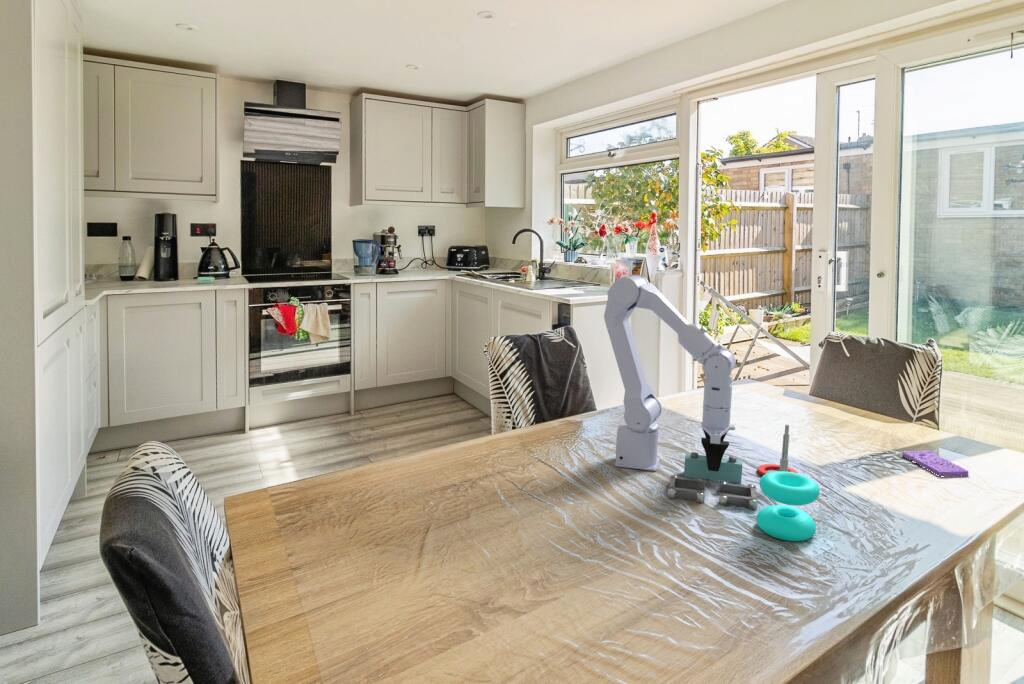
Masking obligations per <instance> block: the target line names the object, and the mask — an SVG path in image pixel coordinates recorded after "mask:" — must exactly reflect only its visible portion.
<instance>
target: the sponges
mask: <svg viewBox="0 0 1024 684" xmlns="http://www.w3.org/2000/svg"><path fill="white" fill-rule="evenodd" d="M901 452H902V453H901V454H902V455H901V456H904V457H906V458H908V459H910V460H912V461H914V462H916V463H917V464H919V465H921V466H923V467H925V468H926V469H928V470H930V471H932V472H933V473H935V474H937V475H939V476H938V477H940V476H954V477H969V470H967V469H966V468H964V467H961V466H960V465H957V464H956V463H955V464H954V463H953V462H952V461H950V460H948V459H946V458H944V457H943V456H941V455H939V454H936V452H933V451H931V450H930V449H928V450H913V451H912V450H911V451H910V450H907V451H906V450H905V451H903V450H902V451H901ZM904 457H903V458H904ZM906 458H905V459H906ZM908 459H907V460H908ZM910 460H909V461H910ZM912 461H911V462H912ZM917 464H916V465H917ZM919 465H918V466H919ZM926 469H925V470H926ZM928 470H927V471H928ZM933 473H932V474H933ZM935 474H934V475H935ZM961 475H962V476H961Z"/></svg>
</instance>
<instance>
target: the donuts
mask: <svg viewBox="0 0 1024 684" xmlns="http://www.w3.org/2000/svg"><path fill="white" fill-rule="evenodd" d="M768 472H769V473H767V474H765V475H763V476H762V475H761V478H760V480H759V482H758V483H759V487H760V488H759V489H760V490H761V492H762V493H763V494H764V496H765V497H768V498H769V499H770V500H772V501H775V502H777V503H780V504H771V505H768V506H765V507H763V508H761V509H760V510H759V511H758V512H757V515H756V523H757V526H758V527H759V528H760V529H761V530H762V532H764V533H765V534H767V535H769V536H771V537H773V538H776V539H779V540H783V541H789V542H802V541H806V540H809V539H811V538H812V537H813V536H814V535H815V533H816V532H817V531H816V530H817V526H816V522H815V520H814V519H813V517H811V516H810V514H808V513H806V512H805V511H803V510H801V509H799V508H797V507H794V506H806V505H809V504H811V503H815V501H816V500H818V498H819V497H820V487H819V484H817V482H815V480H813V479H812V478H810V477H808V476H806V475H803V474H801V473H798V474H797V473H793V472H786V471H777V470H776V471H768ZM783 504H784V505H783Z"/></svg>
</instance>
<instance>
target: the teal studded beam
mask: <svg viewBox="0 0 1024 684" xmlns="http://www.w3.org/2000/svg"><path fill="white" fill-rule="evenodd" d="M683 468H684V469H683V478H691V479H698V478H703V479H705V480H709V481H710V480H711V481H717V482H718V481H726V482H727V483H732V484H742V476H743V459H739V458H738V459H737V457H736V456H732V455H731V456H728V457H722V461H721V465H720V468H719V471H718V472H717V471H709V470H708V466H707V459H706V455H704V454H703V455H701V454H699V452H694V451H693V452H690V453H685V455H684V467H683Z"/></svg>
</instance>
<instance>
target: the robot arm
mask: <svg viewBox="0 0 1024 684" xmlns="http://www.w3.org/2000/svg"><path fill="white" fill-rule="evenodd" d="M606 293H607V301H606V303H605V304H606V306H605V309H604V315H603V320H604V323H605V326H606V327H605V328H606V330H607V334H608V337H609V341H610V343H611V347H612V350H613V355H614V356H615V357H614V358H615V360H616V364H617V368H618V371H619V374H620V378H621V381H622V385H623V388H624V395H623V402H622V403H623V405H624V411H623V419H624V422H625V424H619V425H618V426H617V431H616V438H615V439H616V440H615V443H616V445H615V463H614V466H615V467H619V468H627V469H628V468H629V469H637V470H645V471H653V472H656V471H658V467H659V463H660V458H661V457H660V456H658V446H659V445H658V443H659V441H658V440H659V424H658V422H657V419H658V418H659V417H660V416H661V414H662V410H663V409H662V404H661V401H660V399H658V398H657V397H656V396H655V393H654V390H653V388H652V387H651V386H650V385H649V384H648V383H647V382H648V381H647V379H646V376H645V373H644V369H643V365H642V361H641V358H640V355H639V351H638V348H637V345H636V340H635V337H634V335H633V331H632V327H631V323H630V320H629V318H630V316H631V315H632V314H633V312H634V310H635V309H636V308H638V309H645V310H651V311H652V312H653V313H654V314H655V315H656V316H658V318H659V319H660V320H662V321H663V322H664V323H665V324H666V325H667V326H669V327H670V328H671V329H672V330H673V331H674V332H675V333H676V334H677V338H678V339H677V340H678V341H677V342H678V344H679V345H680V346H681V347H682V348H683V349H684V350H685V351H687V352H688V354H690V356H691V357H692V358H694V360H696V361H697V363H698V364H700V365H701V368H702V371H703V373H704V375H705V377H704V378H705V379H704V385H703V403H702V404H703V405H702V418H701V419H702V421H701V422H700V423H701V425H700V427H701V429H702V431H703V433H704V437H701V439H700V442H701V446H702V447H703V449H704V453H705V456H706V459H707V466H708V470H709V471H717V472H718V471H719V468H720V465H721V461H722V458H724V454H725V452H726V450H727V449H728V448H729V446H730V441H724V440H725V438H726V435H727V434H728V432H729V431H736V424H733V423H731V412H732V411H731V410H732V409H731V408H732V393H733V384H732V383H733V374H732V371H734V368H735V366H736V359H735V355H734V354H733V353H732V352H731V350H730V349H728V348H725V347H724V345H723V344H722V343H718V342H717V341H716V340H715V339H714V338H713V337H712V336H711V335H710V334H709V333H707V332H708V328H707V327H705V326H704V325H703V326H701V325H699V324H698V323H689V321H688V320H687V319H686V318H685V317H684V316H683V315H682V314H681V313H680V312H679V311H678V310H677V309H676V308H675V306H674V305H673V304H672V303H671V302H670V301H669V300H668V299H667V298H666V297H665V295H664V294H663V293H661V291H660V290H659V289H658V288H657V287H656V285H655V284H653V283H652V282H649V280H648V279H647V278H646V277H645V276H643V275H641V274H632V275H630V276H626V277H625V276H624V277H620V278H618V279H616V280H615V281H614V282H613V283H612V284H611V286H610V288H609V289H608V290H607V292H606Z"/></svg>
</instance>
